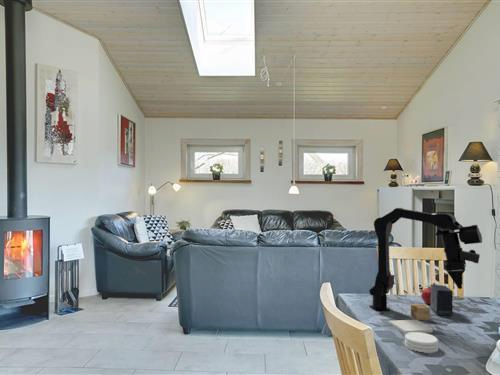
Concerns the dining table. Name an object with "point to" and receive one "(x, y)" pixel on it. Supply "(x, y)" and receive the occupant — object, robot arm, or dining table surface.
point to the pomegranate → (427, 294)
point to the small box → (441, 300)
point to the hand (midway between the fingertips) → (460, 286)
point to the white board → (410, 326)
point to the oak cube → (420, 311)
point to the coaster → (421, 342)
